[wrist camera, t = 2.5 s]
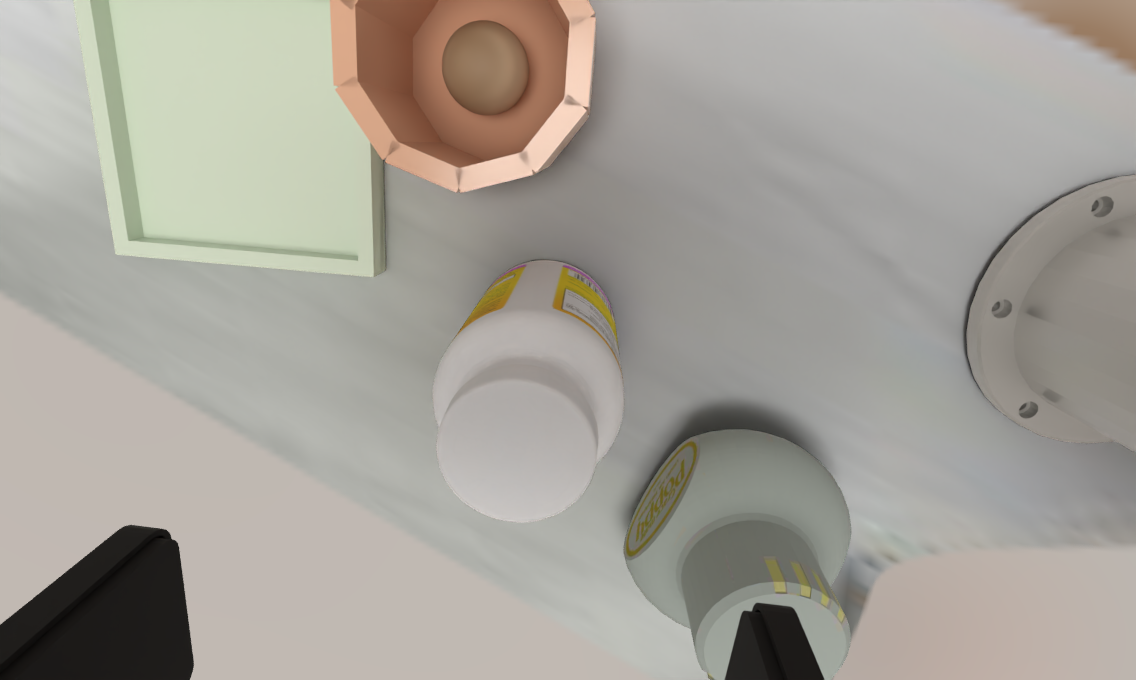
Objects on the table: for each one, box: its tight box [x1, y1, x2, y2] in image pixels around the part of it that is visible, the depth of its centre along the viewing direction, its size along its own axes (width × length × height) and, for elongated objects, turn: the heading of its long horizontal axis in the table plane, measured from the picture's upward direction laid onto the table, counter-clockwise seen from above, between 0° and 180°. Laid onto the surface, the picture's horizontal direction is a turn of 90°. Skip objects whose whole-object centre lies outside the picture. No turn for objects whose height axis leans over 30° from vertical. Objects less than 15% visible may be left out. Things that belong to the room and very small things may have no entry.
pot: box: [330, 0, 596, 193], centre depth 22 cm, size 8×9×7 cm
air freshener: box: [624, 429, 851, 680], centre depth 27 cm, size 11×8×10 cm
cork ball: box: [442, 20, 529, 115], centre depth 23 cm, size 3×3×3 cm
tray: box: [73, 0, 386, 277], centre depth 26 cm, size 12×12×2 cm
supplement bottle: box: [432, 260, 624, 523], centre depth 23 cm, size 7×7×13 cm
